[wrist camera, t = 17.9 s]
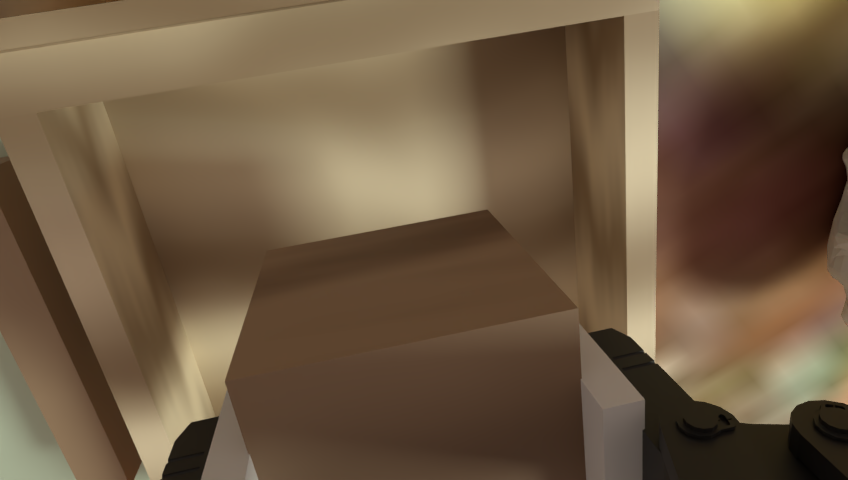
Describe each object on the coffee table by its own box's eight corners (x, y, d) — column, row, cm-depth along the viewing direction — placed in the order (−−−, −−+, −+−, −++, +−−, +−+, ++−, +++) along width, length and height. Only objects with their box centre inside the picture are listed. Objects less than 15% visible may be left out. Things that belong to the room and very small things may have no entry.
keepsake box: (56, 31, 17) (-84, 30, 11) (578, -48, 19) (688, -84, 13) (220, 473, 24) (185, 614, 18) (594, 387, 25) (672, 491, 20)
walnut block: (266, 250, 14) (224, 381, 9) (487, 209, 15) (578, 308, 9) (315, 432, 17) (305, 630, 11) (506, 390, 17) (590, 558, 12)
